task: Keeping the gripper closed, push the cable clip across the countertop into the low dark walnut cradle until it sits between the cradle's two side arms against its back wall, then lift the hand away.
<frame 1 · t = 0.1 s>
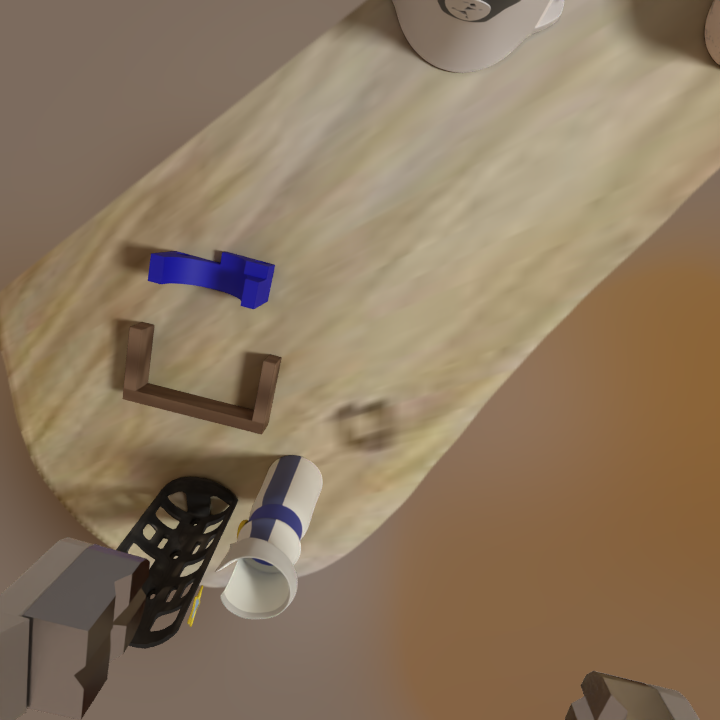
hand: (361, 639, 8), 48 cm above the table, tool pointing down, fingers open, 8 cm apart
water bottle: (294, 481, 62), on the table
cable clip: (224, 269, 55), on the table
holder: (202, 502, 64), on the table
cradle: (207, 369, 59), on the table
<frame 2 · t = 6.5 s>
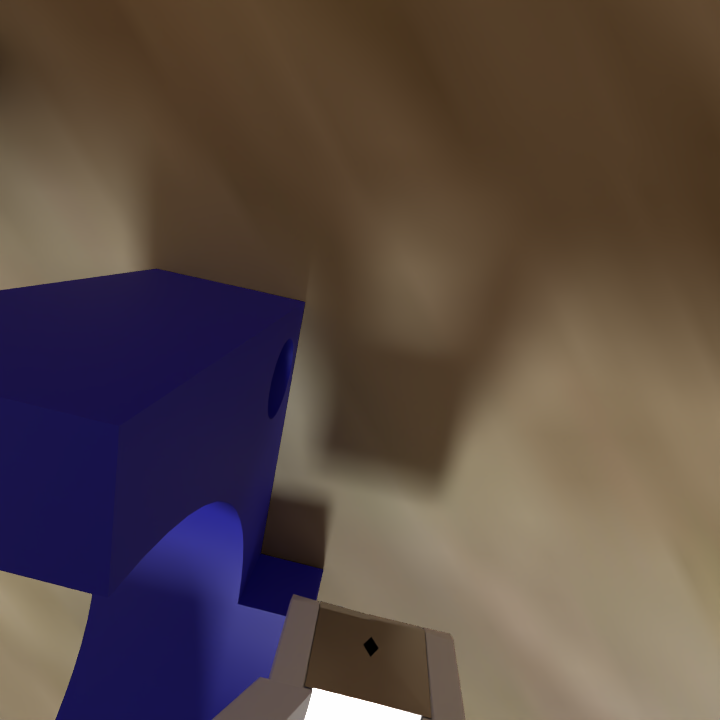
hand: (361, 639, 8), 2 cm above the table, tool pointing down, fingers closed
cable clip: (232, 540, 11), on the table, touching gripper
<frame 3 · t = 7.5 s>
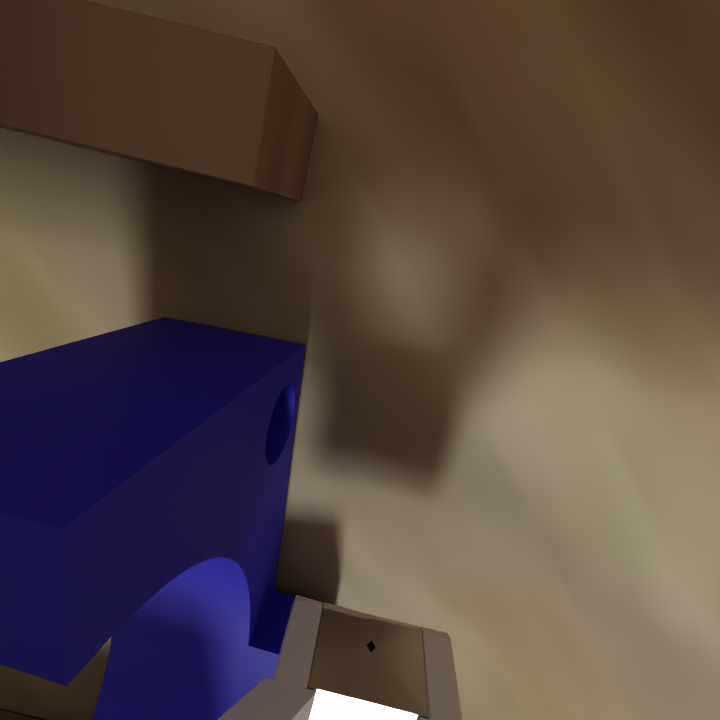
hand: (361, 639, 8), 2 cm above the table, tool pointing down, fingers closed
cable clip: (247, 576, 11), on the table, touching gripper
cradle: (70, 493, 11), on the table
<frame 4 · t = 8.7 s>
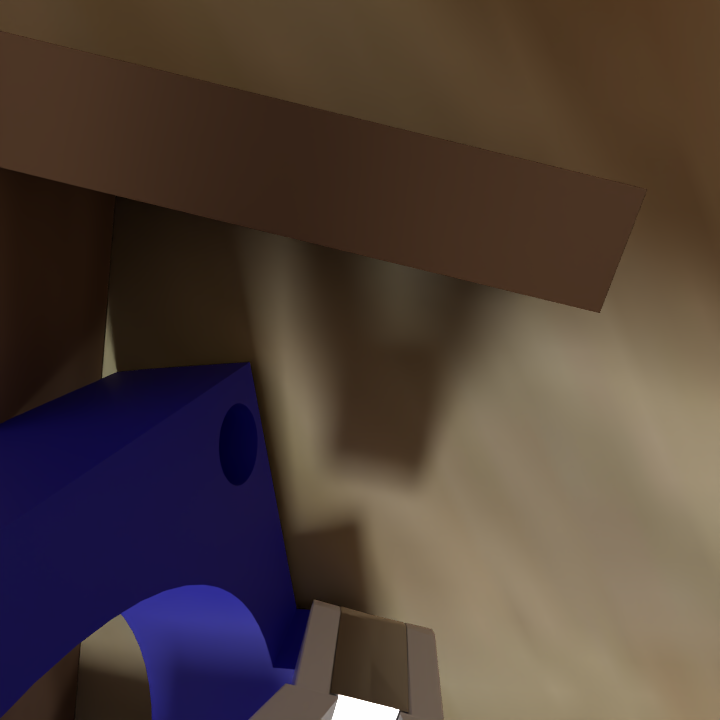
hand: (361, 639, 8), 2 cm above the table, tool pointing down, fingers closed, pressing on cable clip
cable clip: (269, 600, 11), on the table, touching cradle, gripper
cradle: (257, 560, 11), on the table
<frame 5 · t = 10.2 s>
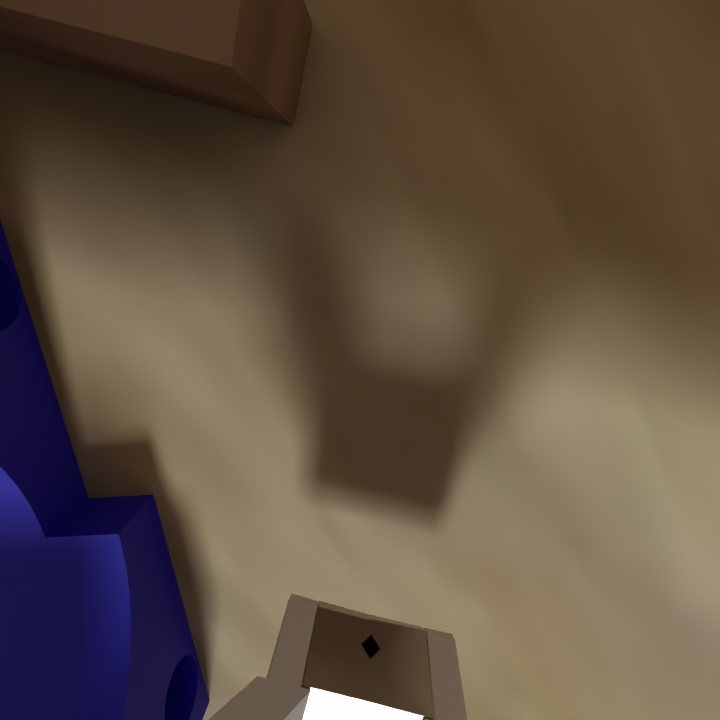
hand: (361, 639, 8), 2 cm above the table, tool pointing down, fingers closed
cable clip: (69, 490, 10), on the table
cradle: (42, 456, 10), on the table
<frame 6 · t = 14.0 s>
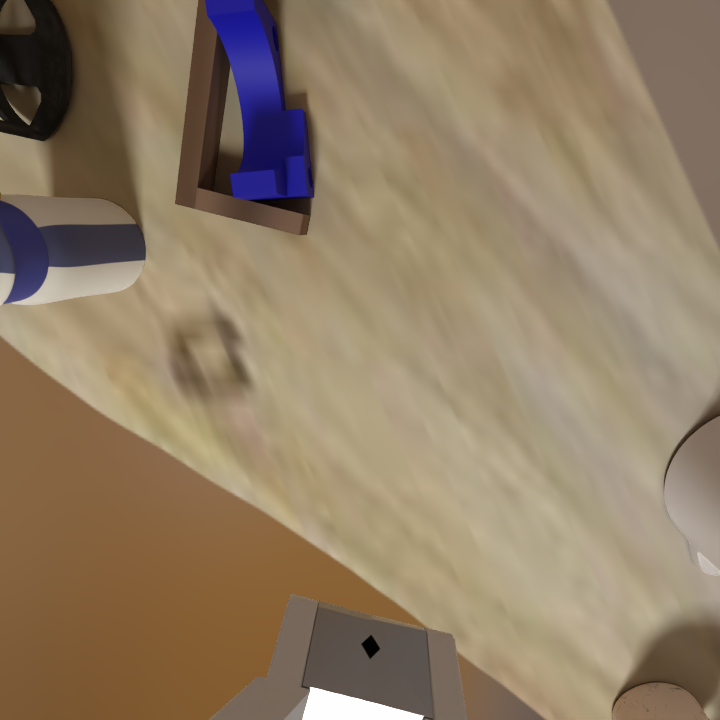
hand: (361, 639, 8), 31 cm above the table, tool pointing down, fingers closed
water bottle: (99, 245, 38), on the table
cable clip: (277, 117, 35), on the table, touching cradle
holder: (22, 66, 35), on the table
cradle: (279, 100, 34), on the table
teacup with lid: (661, 717, 48), on the table
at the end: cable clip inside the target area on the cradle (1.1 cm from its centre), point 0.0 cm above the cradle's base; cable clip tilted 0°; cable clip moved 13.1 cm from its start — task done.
